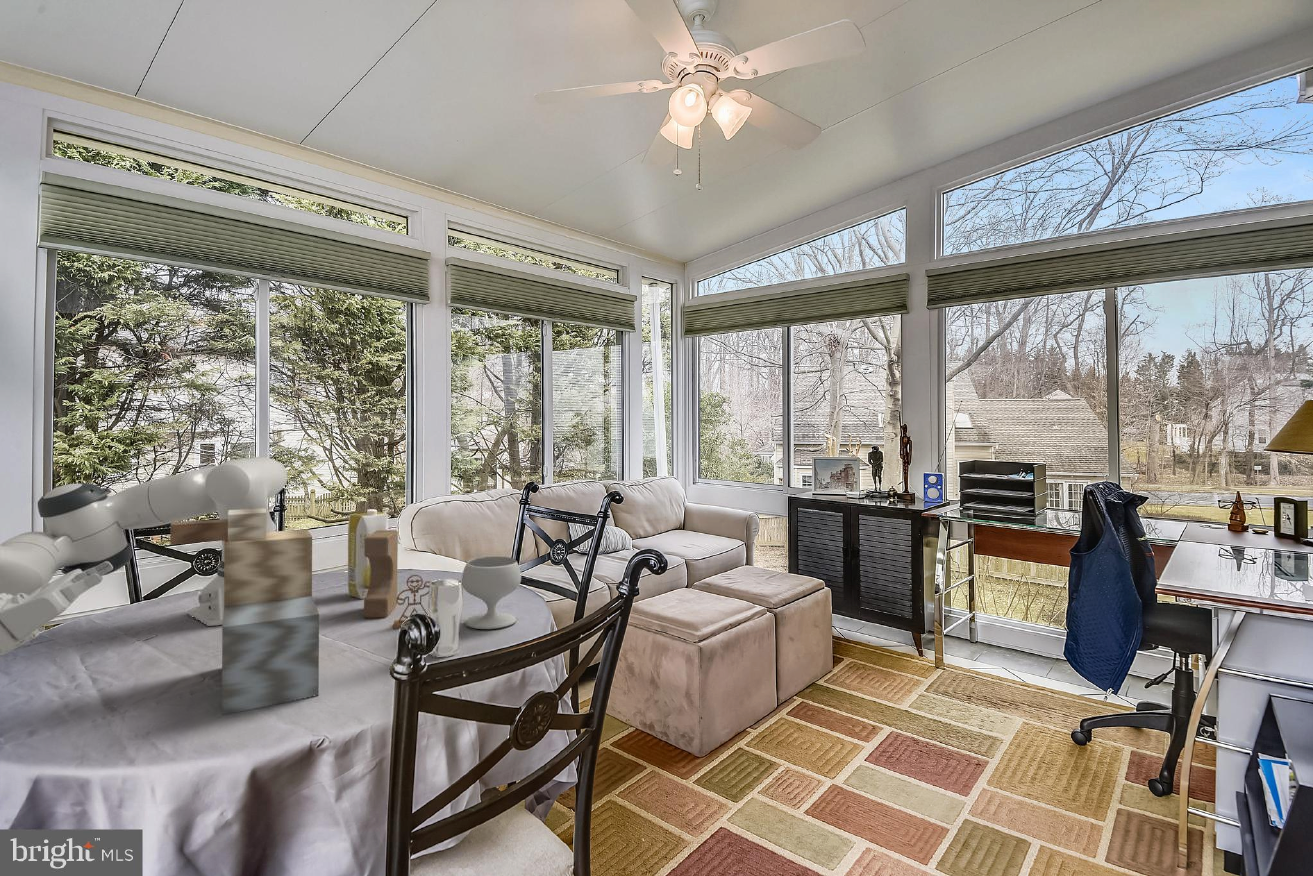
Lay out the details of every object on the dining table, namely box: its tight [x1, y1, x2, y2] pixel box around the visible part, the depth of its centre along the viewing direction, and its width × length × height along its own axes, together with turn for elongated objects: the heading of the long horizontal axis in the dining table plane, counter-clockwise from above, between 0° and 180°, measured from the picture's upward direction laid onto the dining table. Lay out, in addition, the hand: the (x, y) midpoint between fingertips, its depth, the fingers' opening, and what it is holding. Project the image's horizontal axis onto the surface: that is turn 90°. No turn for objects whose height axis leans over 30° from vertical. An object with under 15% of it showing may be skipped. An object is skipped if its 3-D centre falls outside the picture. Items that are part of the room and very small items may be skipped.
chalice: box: [461, 556, 522, 630], centre depth 151 cm, size 14×14×15 cm
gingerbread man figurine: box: [393, 574, 431, 630], centre depth 149 cm, size 9×4×12 cm, turn 115°
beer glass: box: [427, 577, 464, 658], centre depth 131 cm, size 7×7×15 cm
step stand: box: [221, 529, 320, 716], centre depth 115 cm, size 14×24×26 cm, turn 34°
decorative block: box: [363, 529, 399, 619], centre depth 158 cm, size 11×6×20 cm, turn 9°
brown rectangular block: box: [169, 508, 267, 546], centre depth 116 cm, size 14×7×5 cm, turn 124°
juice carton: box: [347, 508, 389, 600], centre depth 173 cm, size 9×8×24 cm
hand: (105, 570), depth 108 cm, fingers open, 8 cm apart
